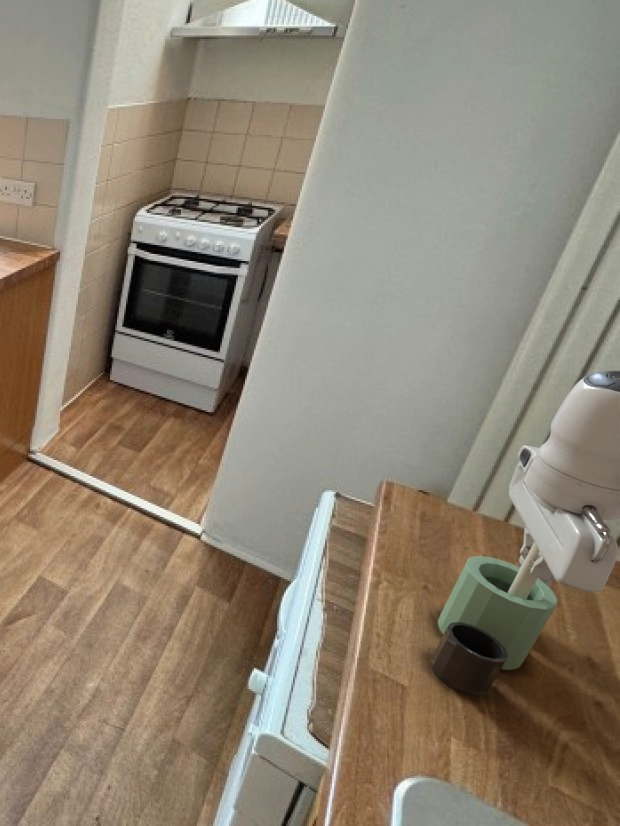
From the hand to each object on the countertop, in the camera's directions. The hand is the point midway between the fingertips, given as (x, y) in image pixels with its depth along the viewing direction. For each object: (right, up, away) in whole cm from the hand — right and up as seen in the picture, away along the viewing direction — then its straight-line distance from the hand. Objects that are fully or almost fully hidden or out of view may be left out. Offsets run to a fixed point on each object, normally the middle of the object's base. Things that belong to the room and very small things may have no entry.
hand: (533, 566), depth 83 cm
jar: (-1, -14, +7) cm, 16 cm away
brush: (0, -11, +5) cm, 12 cm away
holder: (-9, -16, +2) cm, 19 cm away
